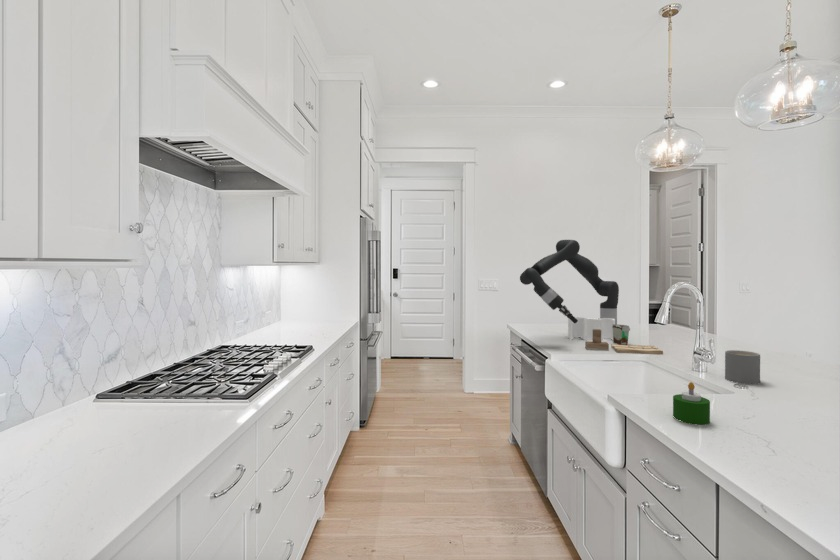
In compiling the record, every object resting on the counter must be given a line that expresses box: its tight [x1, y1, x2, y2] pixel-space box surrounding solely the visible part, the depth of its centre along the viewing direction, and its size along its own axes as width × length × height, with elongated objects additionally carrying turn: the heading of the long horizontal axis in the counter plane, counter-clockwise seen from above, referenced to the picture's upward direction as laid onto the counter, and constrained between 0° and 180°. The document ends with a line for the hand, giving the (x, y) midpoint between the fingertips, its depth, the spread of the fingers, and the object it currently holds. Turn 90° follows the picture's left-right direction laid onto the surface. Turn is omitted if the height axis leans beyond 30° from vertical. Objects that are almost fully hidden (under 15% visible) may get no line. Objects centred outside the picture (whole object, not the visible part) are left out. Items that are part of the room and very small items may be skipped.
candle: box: [672, 381, 711, 426], centre depth 111 cm, size 8×8×10 cm
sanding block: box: [584, 329, 610, 352], centre depth 209 cm, size 6×10×10 cm, turn 76°
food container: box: [612, 323, 631, 345], centre depth 223 cm, size 12×6×10 cm, turn 179°
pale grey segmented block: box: [567, 316, 615, 342], centre depth 239 cm, size 25×10×12 cm, turn 73°
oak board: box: [610, 343, 664, 355], centre depth 205 cm, size 14×20×2 cm
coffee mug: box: [724, 349, 761, 385], centre depth 151 cm, size 13×10×10 cm
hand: (575, 321), depth 211 cm, fingers open, 8 cm apart
